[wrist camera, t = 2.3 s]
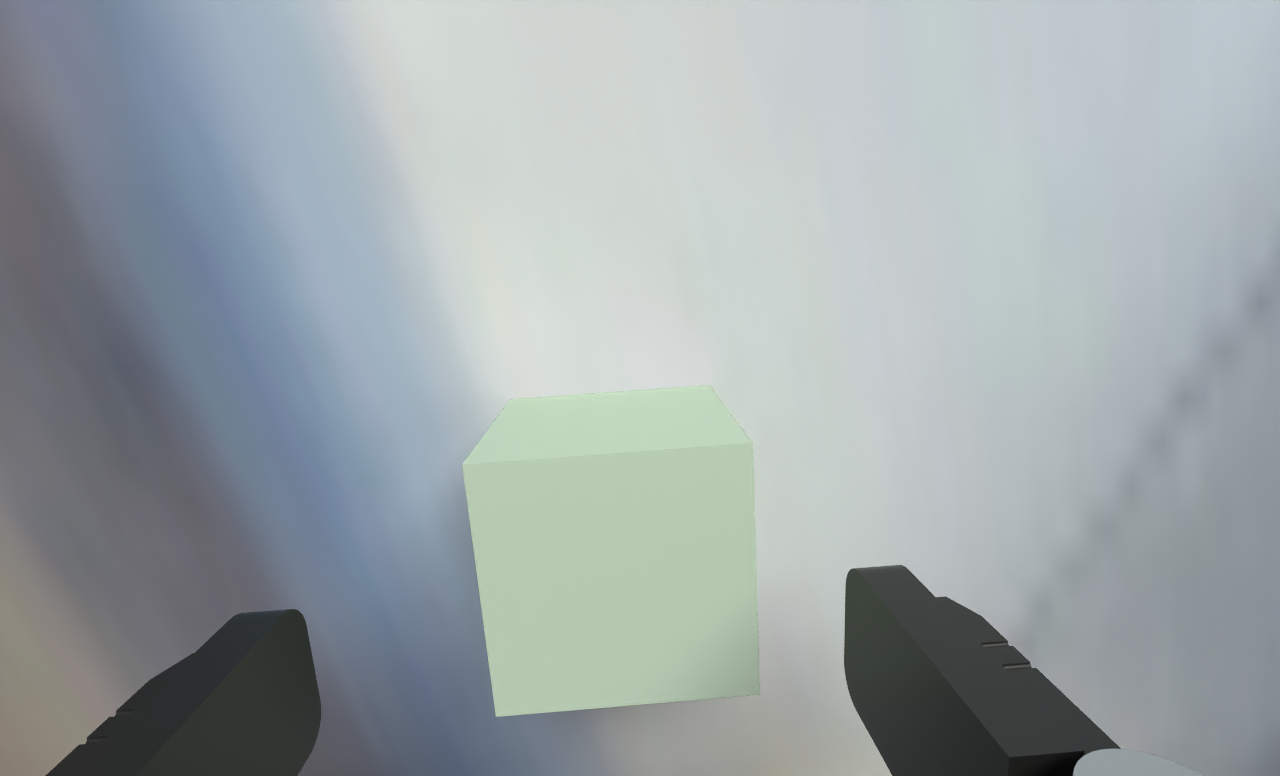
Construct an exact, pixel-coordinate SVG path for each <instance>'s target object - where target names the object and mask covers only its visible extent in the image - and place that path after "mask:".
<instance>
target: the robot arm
mask: <svg viewBox="0 0 1280 776" xmlns="http://www.w3.org/2000/svg"><path fill="white" fill-rule="evenodd" d="M844 666H845V675H846V681H847V685H848V689H849V693H850V696H851V699H852V702H853V704H854V707H855V709H856V711H857V712H858V714H859V716H860V718H861V720H862V721H863V723H864V725H865V727H866V729H867V730H868V732H869V734H870V736H871V738H872V739H873V741H874V743H875V745H876V747H877V748H878V750H879V752H880V754H881V756H882V757H883V759H884V761H885V763H886V765H887V766H888V768H889V770H890V772H891V774H892V776H1203V775H1201V774H1200V773H1198V772H1196V771H1194V770H1192V769H1190V768H1187V767H1185V766H1183V765H1181V764H1178V763H1176V762H1173V761H1171V760H1168V759H1165V758H1162V757H1160V756H1156V755H1152V754H1149V753H1145V752H1140V751H1134V750H1129V749H1121V748H1120V747H1119V746H1118V745H1117V744H1115V743H1114V742H1113V741H1112V740H1111V739H1110V738H1109V737H1108V736H1107V735H1106V734H1105V733H1104V732H1103V731H1102V730H1101V729H1100V728H1099V727H1098V726H1097V725H1095V724H1094V723H1093V722H1092V721H1091V720H1090V719H1089V718H1088V717H1087V716H1086V715H1085V714H1084V713H1083V712H1082V711H1081V710H1080V709H1079V708H1078V707H1077V706H1075V705H1074V704H1073V703H1072V702H1071V701H1070V700H1069V699H1068V698H1067V697H1066V696H1065V695H1064V694H1063V693H1062V692H1061V691H1060V690H1059V689H1058V688H1057V687H1055V686H1054V685H1053V684H1052V683H1051V682H1050V681H1049V680H1048V679H1047V678H1046V677H1045V676H1044V675H1043V674H1042V673H1041V672H1040V671H1039V670H1038V669H1037V668H1031V665H1030V662H1029V661H1028V660H1027V659H1026V658H1025V657H1024V656H1023V655H1022V654H1021V653H1020V652H1019V651H1018V650H1017V649H1016V648H1014V647H1013V646H1009V645H1008V641H1007V640H1006V639H1005V638H1004V637H1003V636H1002V635H1001V634H1000V633H999V632H998V631H997V630H996V629H994V628H993V627H992V626H991V625H990V624H989V623H988V622H987V621H986V620H985V619H984V618H983V617H982V616H980V615H978V614H977V613H975V612H973V611H971V610H969V609H967V608H966V607H964V606H962V605H960V604H958V603H956V602H955V601H953V600H951V599H949V598H947V597H935V596H934V595H933V594H932V593H931V592H930V591H929V590H928V589H927V588H926V587H925V586H924V585H923V584H922V583H921V582H920V581H919V580H918V579H917V578H916V577H915V576H914V575H913V574H912V573H911V572H910V571H909V570H908V569H907V568H906V567H904V566H902V565H894V566H881V567H868V568H854V569H851V570H850V571H849V572H848V575H847V579H846V597H845V647H844ZM320 720H321V702H320V696H319V691H318V685H317V680H316V674H315V669H314V664H313V658H312V653H311V647H310V642H309V636H308V631H307V626H306V622H305V619H304V617H303V615H302V614H301V613H300V612H299V611H298V610H295V609H289V610H276V611H262V612H249V613H240V614H237V615H235V616H234V617H232V618H231V619H230V620H229V621H228V622H227V623H226V624H225V625H224V626H223V627H222V628H221V629H219V630H218V631H217V632H216V633H215V634H214V635H213V636H212V637H211V638H210V639H209V640H208V641H207V642H206V643H205V644H204V645H203V646H202V647H201V648H200V649H198V650H197V651H196V652H195V653H193V654H191V655H190V656H188V657H186V658H185V659H183V660H181V661H180V662H178V663H177V664H175V665H173V666H172V667H170V668H168V669H167V670H165V671H164V672H162V673H160V674H159V675H157V676H155V677H154V678H152V679H151V680H149V681H148V682H147V683H146V684H145V685H144V686H143V687H142V688H141V689H139V690H138V691H137V692H136V693H135V694H134V695H133V696H132V697H131V698H130V699H129V700H127V701H126V702H125V703H124V704H123V705H122V706H121V707H120V708H119V709H118V710H117V711H116V715H115V717H109V718H108V719H107V720H106V721H105V722H103V723H102V724H101V725H100V726H99V727H98V728H97V729H96V730H95V731H94V732H93V733H91V734H90V735H89V736H88V737H87V742H86V744H82V745H78V746H77V747H76V748H75V749H74V750H73V751H72V752H71V753H70V754H69V755H68V756H66V757H65V758H64V759H63V760H62V761H61V762H60V763H59V764H58V765H57V766H56V767H54V768H53V769H52V770H51V771H50V772H49V773H48V774H47V775H46V776H297V775H298V774H299V772H300V770H301V769H302V767H303V765H304V764H305V762H306V760H307V759H308V757H309V755H310V753H311V752H312V750H313V747H314V745H315V742H316V739H317V736H318V732H319V727H320Z"/></svg>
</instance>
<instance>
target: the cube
mask: <svg viewBox="0 0 1280 776" xmlns="http://www.w3.org/2000/svg"><path fill="white" fill-rule="evenodd" d="M462 467H463V475H464V482H465V490H466V497H467V505H468V512H469V519H470V527H471V534H472V542H473V549H474V557H475V564H476V572H477V579H478V587H479V594H480V602H481V609H482V617H483V624H484V632H485V639H486V647H487V654H488V662H489V669H490V676H491V684H492V691H493V699H494V706H495V714H496V717H501V716H513V715H524V714H536V713H548V712H560V711H571V710H583V709H595V708H607V707H619V706H630V705H642V704H654V703H666V702H677V701H689V700H701V699H713V698H725V697H736V696H748V695H760V684H759V648H758V612H757V575H756V539H755V503H754V467H753V442H752V441H751V440H750V438H749V437H748V436H747V434H746V433H745V432H744V430H743V429H742V428H741V426H740V425H739V423H738V422H737V421H736V419H735V418H734V417H733V415H732V414H731V413H730V411H729V410H728V409H727V407H726V406H725V405H724V403H723V402H722V401H721V399H720V398H719V397H718V395H717V394H716V392H715V391H714V390H713V388H712V387H711V386H710V385H702V386H688V387H674V388H660V389H646V390H632V391H619V392H605V393H591V394H577V395H563V396H549V397H535V398H521V399H511V400H510V401H509V402H508V404H507V405H506V406H505V408H504V409H503V410H502V412H501V413H500V414H499V416H498V417H497V418H496V420H495V421H494V422H493V424H492V425H491V426H490V428H489V429H488V431H487V432H486V433H485V435H484V436H483V437H482V439H481V440H480V441H479V443H478V444H477V445H476V447H475V448H474V449H473V451H472V452H471V453H470V455H469V456H468V457H467V459H466V460H465V461H464V463H463V464H462Z"/></svg>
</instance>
